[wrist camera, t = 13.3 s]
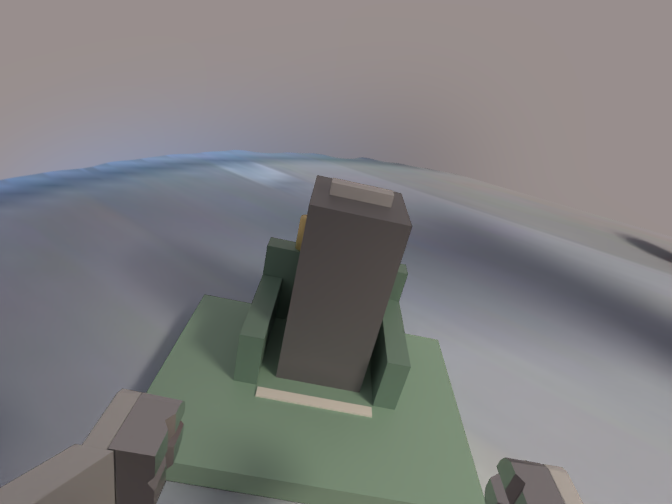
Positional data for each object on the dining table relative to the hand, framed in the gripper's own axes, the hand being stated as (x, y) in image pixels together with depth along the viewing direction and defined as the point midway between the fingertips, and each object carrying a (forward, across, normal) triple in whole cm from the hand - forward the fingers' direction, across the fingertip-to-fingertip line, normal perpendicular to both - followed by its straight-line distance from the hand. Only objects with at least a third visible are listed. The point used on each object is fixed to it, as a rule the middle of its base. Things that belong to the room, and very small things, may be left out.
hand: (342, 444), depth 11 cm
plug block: (+12, 0, +8) cm, 14 cm away
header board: (+10, 0, +9) cm, 13 cm away
